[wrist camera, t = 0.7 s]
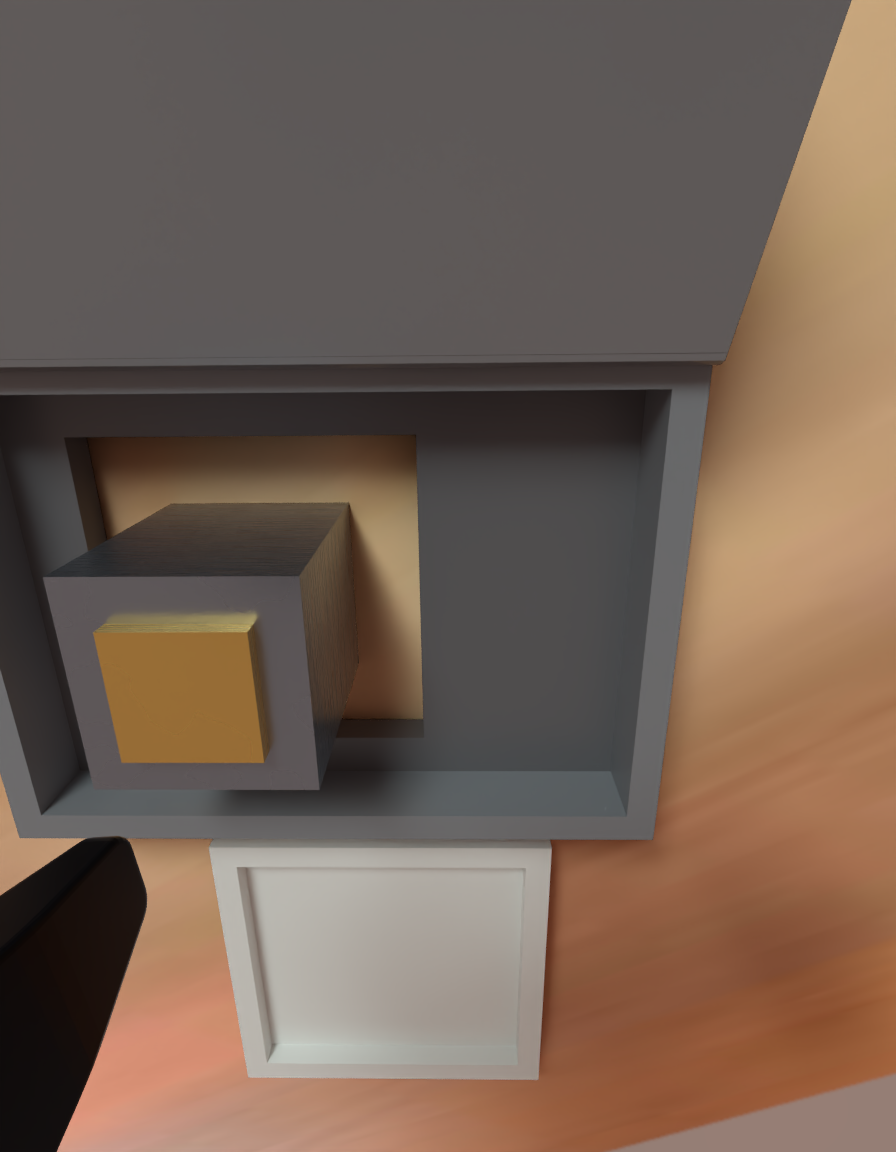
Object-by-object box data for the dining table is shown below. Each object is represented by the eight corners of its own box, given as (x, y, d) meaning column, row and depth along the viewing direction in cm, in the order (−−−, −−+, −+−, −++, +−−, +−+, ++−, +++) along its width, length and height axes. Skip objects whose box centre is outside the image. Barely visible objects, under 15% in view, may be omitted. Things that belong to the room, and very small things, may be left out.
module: (348, 502, 18) (294, 583, 12) (359, 661, 20) (315, 801, 14) (172, 503, 18) (29, 584, 12) (197, 661, 20) (83, 802, 14)
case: (735, -277, 13) (1616, -2237, 3) (626, 772, 21) (767, 1133, 11) (-177, -255, 13) (-2013, -1975, 3) (77, 771, 21) (-232, 1123, 12)
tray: (546, 822, 22) (551, 848, 21) (534, 1047, 25) (538, 1079, 24) (221, 821, 22) (208, 847, 21) (257, 1044, 26) (248, 1077, 24)
